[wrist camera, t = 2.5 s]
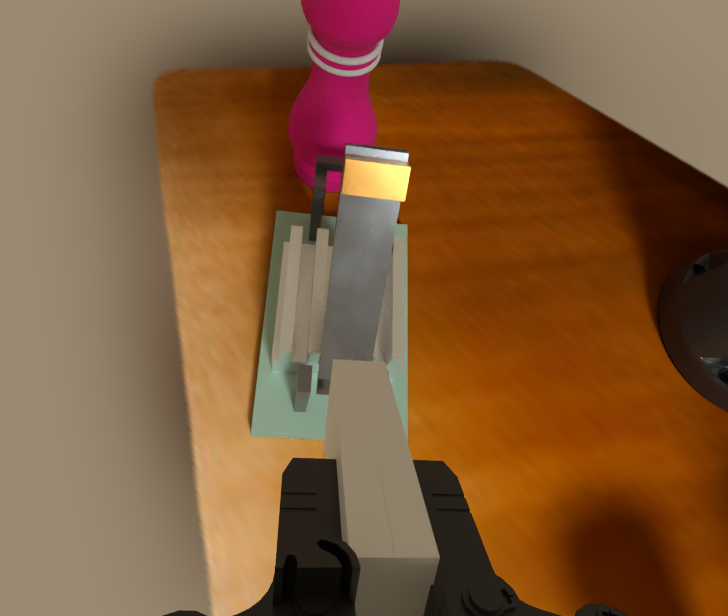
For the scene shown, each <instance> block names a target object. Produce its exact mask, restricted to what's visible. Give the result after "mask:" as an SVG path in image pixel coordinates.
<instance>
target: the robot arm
mask: <svg viewBox="0 0 728 616" xmlns="http://www.w3.org/2000/svg"><path fill="white" fill-rule="evenodd" d="M658 317H659V325H660V330H661V334H662V338H663V341H664V343H665V346H666V348H667V351H668V353H669V355H670V357H671V358H672V360H673V362H674V364H675V365H676V367H677V368H678V370H679V371H680V372H681V374H682V375H683V376H684V378H685V379H686V380H687V381H688V382H689V383H690V384H691V385H692V386H693V387H694V388H695V389H696V390H697V391H698V392H699V393H700V394H701V395H702V396H704V397H705V398H706V399H707V400H709V401H710V402H712V403H713V404H715V405H716V406H718V407H720V408H721V409H723V410H725V411H727V412H728V248H726V249H721V250H716V251H712V252H709V253H706V254H704V255H701V256H699V257H697V258H695V259H694V260H692V261H690V262H689V263H687V264H685V265H684V266H682V267H680V268H679V269H677V270H676V271H675V272H674V273H673V274H672V275H671V276H670V277H669V278H668V280H667V281H666V283H665V285H664V287H663V289H662V292H661V295H660V299H659V306H658ZM324 442H325V459H314V458H292V460H291V462H290V463H289V465H288V466H287V468H286V469H285V471H284V472H283V474H282V487H281V500H280V513H279V527H278V540H277V553H276V566H275V574H274V578H273V582H272V584H271V586H270V588H269V590H268V592H267V593H266V594H265V595H264V596H263V597H262V599H261V600H260V601H259V602H257V603H256V604H255V605H253V606H252V607H251V608H249V609H247V610H245V611H243V612H241V613H239V614H237V615H234V616H560V615H557V614H554V613H550V612H547V611H544V610H541V609H538V608H535V607H533V606H530V605H528V604H526V603H524V602H523V601H521V600H520V599H519V598H518V596H517V595H516V593H515V591H514V590H513V588H512V587H511V586H509V585H508V584H507V583H506V582H505V581H504V580H503V579H502V578H501V577H499V576H497V575H496V574H495V572H494V570H493V568H492V566H491V563H490V561H489V558H488V555H487V553H486V550H485V548H484V545H483V543H482V540H481V537H480V535H479V532H478V530H477V527H476V524H475V522H474V519H473V517H472V514H471V513H470V511H469V510H470V509H469V506H468V504H467V501H466V499H465V498H464V493H463V491H462V488H461V486H460V483H459V480H458V478H457V476H456V475H455V474H454V473H453V472H452V471H451V470H450V468H449V467H448V466H447V465H446V464H445V463H444V462H443V461H426V460H412V456H411V453H410V449H409V446H408V442H407V439H406V435H405V432H404V428H403V424H402V421H401V417H400V414H399V410H398V407H397V403H396V400H395V396H394V392H393V389H392V385H391V382H390V378H389V375H388V371H387V368H386V364H385V362H375V361H357V360H340V359H333V363H332V372H331V382H330V391H329V400H328V409H327V418H326V427H325V437H324ZM164 616H206V615H204V614H201V613H200V612H197V611H176V612H173V613H170V614H167V615H164ZM575 616H627V615H625V614H624V613H622V612H620V611H619V610H617V609H615V608H612V607H608V606H605V605H602V604H588V605H585V606H583V607H582V608H580V609H579V610H577V611H576V614H575Z"/></svg>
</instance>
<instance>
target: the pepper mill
mask: <svg viewBox="0 0 728 616" xmlns="http://www.w3.org/2000/svg"><path fill="white" fill-rule="evenodd" d="M301 5H302V8H303V12H304V14H305V17H306V20H307V22H308V23H309V24H308V28H307V35H308V37H307V50H308V53H309V55H310V57H311V58H312V60H313V64H312V69H311V73H310V76H309V79H308V81H307V82H306V84H305V86H304V87H303V89H302V90H301V92H300V93H299V95H298V96H297V98H296V99H295V102H294V104H293V107H292V109H291V112H290V117H289V125H288V134H289V139H290V142H291V144H292V146H293V148H294V149H293V165H294V169H295V171H296V173H297V175H298V176H299V178H300V179H301V180H302V181H303V182H304V183H305V184H307V185H308V186H309V187H311V188H314V178H315V168H316V158H317V154H319V155H326V156H334V157H342V158H343V157H344V149H345V142H347V143H355V144H362V145H370V146H374V144H375V140H376V132H377V124H376V116H375V112H374V109H373V106H372V103H371V100H370V97H369V91H368V83H369V74H370V71H371V70H372V69H373V68H374V67H375V66H376V65H377V64H378V61H379V59H380V56H381V50H382V47H383V39H384V38H385V37H386V36H387V35H388V34H389V33H390V31H391V30H392V28H393V26H394V24H395V21H396V18H397V16H398V12H399V5H400V0H301ZM341 174H342V172H335V171H327V180H326V191H325V192H339V191H340V183H341Z"/></svg>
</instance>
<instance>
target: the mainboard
mask: <svg viewBox="0 0 728 616" xmlns="http://www.w3.org/2000/svg"><path fill="white" fill-rule="evenodd" d="M310 217H311V214H306V213H297V212H288V211H279V210H277V211H276V220H275V228H274V237H273V246H272V254H271V263H270V271H269V280H268V289H267V297H266V306H265V315H264V323H263V332H262V341H261V349H260V358H259V367H258V375H257V384H256V393H255V401H254V410H253V419H252V427H251V436H252V437H270V438H289V439H308V440H324V437H325V427H326V418H327V409H328V400H329V395H318V394H316V388H317V376H318V374H312V381H311V393H310V397H309V401H308V404H307V408H306V412H294V406H295V394H296V384H297V377H298V373H290V372H276V371H272V361H271V359H272V350H273V340H274V331H275V321H276V312H277V303H278V293H279V284H280V274H281V265H282V255H283V246H284V242H290V235H291V225H294V226H303V234H302V243H303V244H312V245H315V243H316V241H309V228H310ZM335 225H336V217H332V216H324V215H322V219H321V226H320V228H322V229H329V237H328V246H332V247H333V242H334V234H335ZM394 236H395V237H405V360H404V370H403V371H402V372H401V373H400V374H399V375H398V376H397V377H396V379H395V380H391V379H390V382H391V385H392V389H393V392H394V396H395V400H396V403H397V407H398V410H399V414H400V417H401V421H402V424H403V428H404V432H405V435H406V439H407V442H408V369H407V225H404V224H396V229H395V235H394Z"/></svg>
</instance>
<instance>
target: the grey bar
mask: <svg viewBox="0 0 728 616" xmlns="http://www.w3.org/2000/svg"><path fill="white" fill-rule="evenodd" d="M408 156H409V153H408V152H407V151H406V150H400V149H393V148H385V147H378V146H370V145H362V144H355V143H347V142H345V149H344V157H343V166H342V174H341V183H340V191H339V200H338V208H337V217H336V225H335V234H334V242H333V251H332V259H331V268H330V276H329V285H328V294H327V302H326V311H325V319H324V328H323V336H322V345H321V353H320V362H319V370H318V376H317V388H316V394H318V395H329V391H330V382H331V372H332V363H333V359H340V360H357V361H372V359H373V353H374V348H375V342H376V336H377V331H378V325H379V319H380V314H381V308H382V302H383V297H384V291H385V286H386V280H387V274H388V269H389V263H390V257H391V252H392V246H393V240H394V235H395V229H396V223H397V218H398V212H399V206H400V201H405V198H406V192H407V187H408V181H409V176H410V170H411V167H410V165H409V164H408V162H407V161H408Z"/></svg>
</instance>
